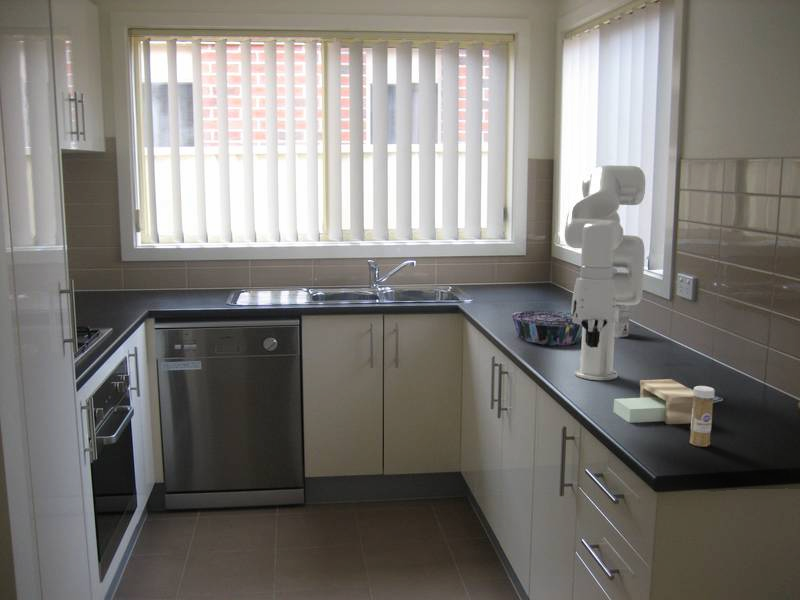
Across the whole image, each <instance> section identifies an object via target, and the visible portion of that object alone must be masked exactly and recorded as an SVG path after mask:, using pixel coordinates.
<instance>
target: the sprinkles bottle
mask: <svg viewBox="0 0 800 600" xmlns="http://www.w3.org/2000/svg"><path fill="white" fill-rule="evenodd" d="M693 390H694V391H693V395H694V396H693V397H694V400H693V408H692V420H691V423H690V436H689V443H690V444H691V445H693V446H696V447H708V446H710V445H711V431H712V424H713V423H712V422H713V407H714V406H713V404H714V403H713V399H714V396H715V391H716V390H715V388H713V387H711V386H706V385H697V386H694V387H693Z"/></svg>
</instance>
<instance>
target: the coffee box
mask: <svg viewBox="0 0 800 600" xmlns="http://www.w3.org/2000/svg"><path fill="white" fill-rule="evenodd" d="M626 302H627V301H626ZM630 313H631V305H619V304H616V312H615V316H614V317H615V338H617V339H618V338H624V337H629V329H630V317H631V315H630Z"/></svg>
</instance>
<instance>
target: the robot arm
mask: <svg viewBox="0 0 800 600" xmlns="http://www.w3.org/2000/svg"><path fill="white" fill-rule="evenodd" d="M581 188H582V189H581V191H582V197H583V198H582V199H580V200H579V201H577V202H575V204H573V205H572V206H571V208H570V209H569V210H568V213H567V217H566V222H565V227H564V239H565V240H564V241H565V244H567V246H568V247H570V248H572V249H581V253H580V254H581V256H580V257H581V258H580V274H579V275H580V277H576V280H575V283H574V286H573V287H574V288H573V293H572V299H571V300H572V301H571V309H570V313H572V315H573V320H572V322H573V323H575V324H579V325H582V334H581V344H580V345H581V347H580V358H579V362H580V363H579V364H580V366H579V367H577V368H575V370H574V374H575V376H576V377H579V378H581V379H585V380H590V381H591V380H593V381H611V380H615V379H617V378H618V372H617V371H616V370H614V368H613V366H614V351H615V338H616V337H615V317H614V316H615V312H616V304H619V305H630V306H636V305H638V304H640V302H641V301H642V297H643V289H644V274H645V273H644V272H645V244H644V241H643V239H642V238H641V237H639V236H636V235H627V234H625V235H624V229H623V227H622V225H621V216H620V215H619V213H618V211H619V208H620V205H621V206H638V205H640V204H641V203H642V202H643V201H644V199H645V198H644V197H645V194H646V177H645V174H644V171H643V169H641V168H640V167H638V166H636V165H610V164H609V165H600V166H598V167H596V168H594V169H593V171H592V172H591V174H590V175H589V176H588V175H587V176H586V177H585V178H584V179H582V185H581ZM617 268H621V269H626V270H627V272H618V269H617ZM626 301H627V302H626ZM581 319H582V320H581Z"/></svg>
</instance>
